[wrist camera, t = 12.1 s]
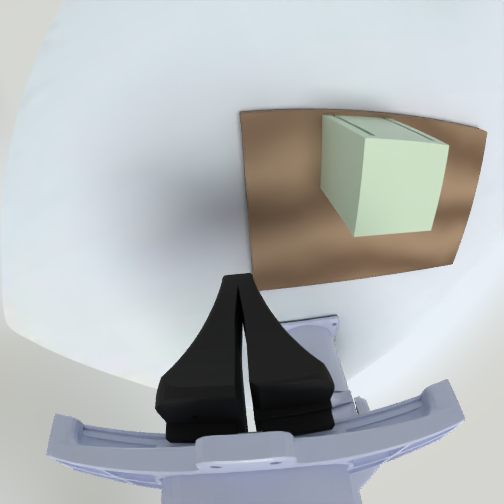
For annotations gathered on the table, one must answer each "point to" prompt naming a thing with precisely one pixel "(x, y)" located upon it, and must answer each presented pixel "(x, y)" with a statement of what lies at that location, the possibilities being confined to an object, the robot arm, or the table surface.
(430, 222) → the green slotted cube
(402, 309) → the table surface
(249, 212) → the board
